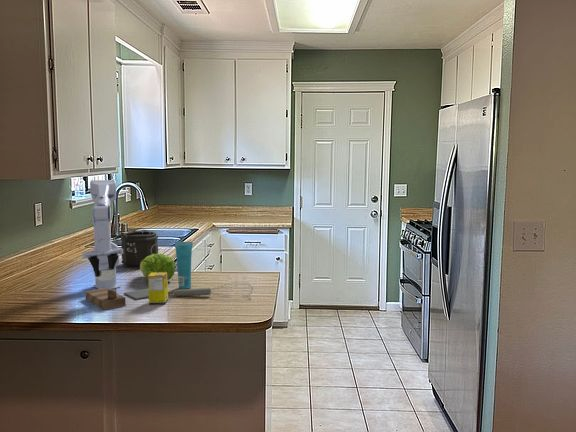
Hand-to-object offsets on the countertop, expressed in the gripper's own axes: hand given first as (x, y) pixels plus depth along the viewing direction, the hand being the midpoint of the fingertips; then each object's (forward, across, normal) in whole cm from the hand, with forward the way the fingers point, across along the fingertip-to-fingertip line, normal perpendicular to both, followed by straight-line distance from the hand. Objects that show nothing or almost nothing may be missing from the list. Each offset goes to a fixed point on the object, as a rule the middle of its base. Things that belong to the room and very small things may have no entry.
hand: (104, 275), depth 192 cm
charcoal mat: (+10, +15, +1) cm, 18 cm away
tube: (+10, +33, 0) cm, 35 cm away
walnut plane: (+10, 0, 0) cm, 10 cm away
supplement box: (+10, +15, -13) cm, 22 cm away
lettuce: (+10, +30, +21) cm, 38 cm away
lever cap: (+1, 0, 0) cm, 1 cm away
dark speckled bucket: (+10, +39, +55) cm, 68 cm away
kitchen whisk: (+11, +34, -19) cm, 40 cm away
